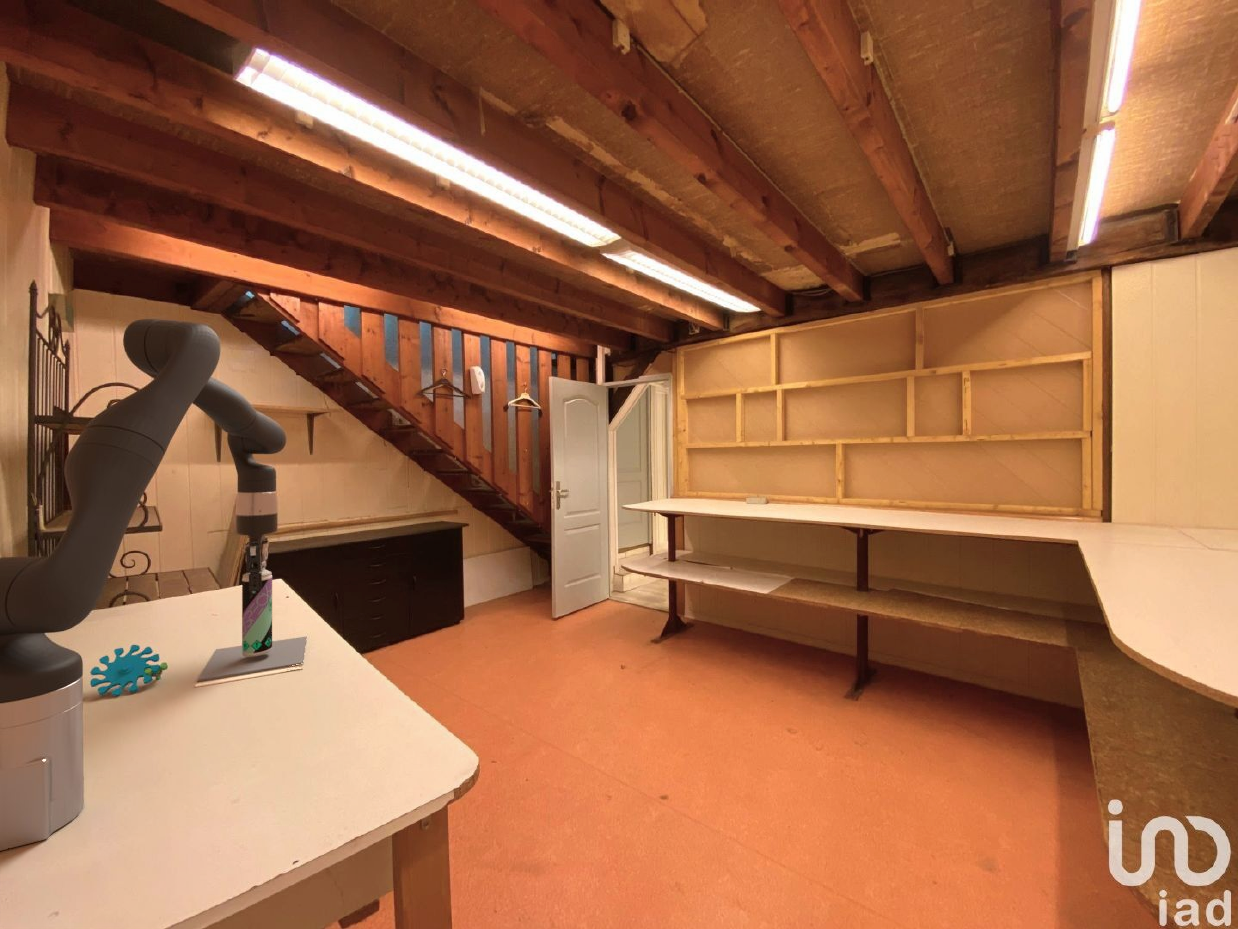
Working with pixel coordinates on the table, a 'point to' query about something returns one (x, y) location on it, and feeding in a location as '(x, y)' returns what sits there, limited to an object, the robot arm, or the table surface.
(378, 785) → the table surface
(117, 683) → the gear
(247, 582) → the spray can
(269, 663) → the gray flat panel
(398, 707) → the table surface
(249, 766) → the table surface
